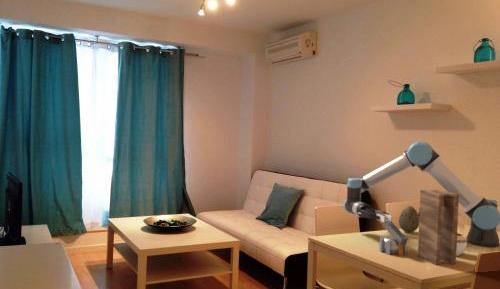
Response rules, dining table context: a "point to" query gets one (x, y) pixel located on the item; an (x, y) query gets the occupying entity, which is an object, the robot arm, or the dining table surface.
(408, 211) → the decorative egg
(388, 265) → the dining table surface
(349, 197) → the robot arm
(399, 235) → the steel bar
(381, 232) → the dining table surface
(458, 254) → the lidded jar
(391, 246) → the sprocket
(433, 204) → the tall wooden pillar
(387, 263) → the dining table surface
